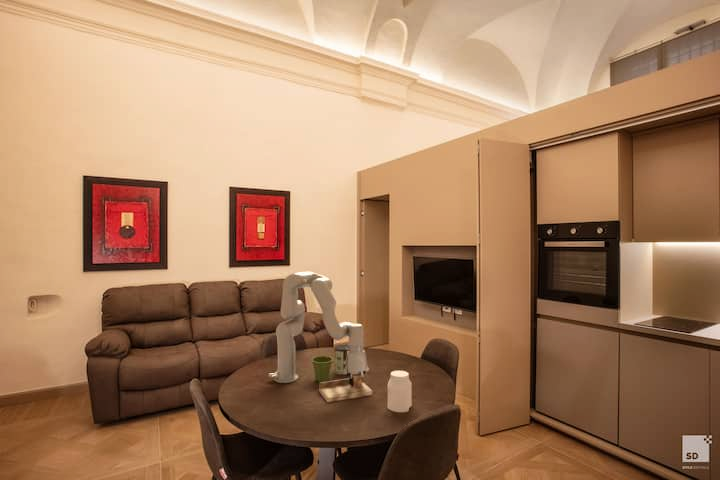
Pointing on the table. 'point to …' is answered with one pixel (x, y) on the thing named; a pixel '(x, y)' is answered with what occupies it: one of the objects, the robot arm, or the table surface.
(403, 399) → the jar
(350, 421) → the table surface
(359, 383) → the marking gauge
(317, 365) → the plant pot
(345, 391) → the board
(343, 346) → the coffee can
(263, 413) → the table surface
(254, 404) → the table surface
